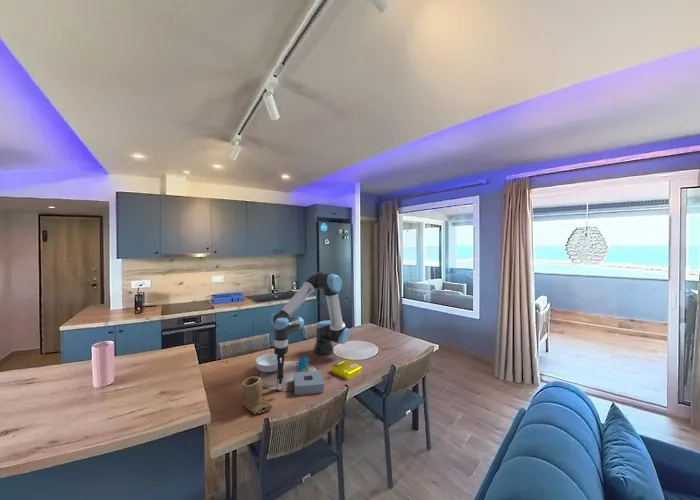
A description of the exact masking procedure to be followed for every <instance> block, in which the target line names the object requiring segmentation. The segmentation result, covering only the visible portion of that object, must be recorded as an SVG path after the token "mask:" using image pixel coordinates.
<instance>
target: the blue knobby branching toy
mask: <svg viewBox="0 0 700 500" xmlns="http://www.w3.org/2000/svg"><path fill="white" fill-rule="evenodd" d="M309 362H310V359H309V357H308V356H301V357H300V358H299V359H298V362H296V365H295V368H296V370H297V371H298V372H302V371H304V370H307V371H311V369H310V368H309V367H308V366H309V364H310V363H309ZM298 369H299V370H298Z"/></svg>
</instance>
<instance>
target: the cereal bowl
mask: <svg viewBox="0 0 700 500" xmlns="http://www.w3.org/2000/svg"><path fill="white" fill-rule="evenodd" d="M277 366H278V361H277V355H276V354H275V353H266V354H263V355H260V356H258V357H257V358H256V359H255V367H256V369H257V370H258V371H260V372H262V373H266V372H270V373H273V372H276V371H277Z"/></svg>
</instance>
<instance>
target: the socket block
mask: <svg viewBox="0 0 700 500" xmlns="http://www.w3.org/2000/svg"><path fill="white" fill-rule="evenodd" d="M323 379H324V378H323V375H322V372H321V370H318V369H317V370H306V371H294V372H293V390H294V396H300V395H313V394H321V393H323V394H324V388H325V383H324V380H323Z"/></svg>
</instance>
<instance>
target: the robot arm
mask: <svg viewBox="0 0 700 500" xmlns="http://www.w3.org/2000/svg"><path fill="white" fill-rule="evenodd" d="M342 286H343V281H342V279H341V277H340V275H337V274H334V273H327V272H316V273H314V274H312V275H310V276H309V277H308V278H307V279H306V280H305V281H303V282H302V286H301V287H300V288H299V289H298V290H297V291H296V293H294V295H293V296H292V297H291V298H290V299H289V300H288V302H286V304H285V305H284V306H283V307H282V308H281V309H280V310H279V311H278V312H273V313H272V314H271V315H270V317H269V323H270V324H271V325H272V326H274V340H273V343H274V347H273V348H274V349H273V352H274V353H273V354H276V355H277V361H278V377H277V376H276V379H277V378H278V389H283V390H284V376H283V365H284V366H285V355H287V354H288V352H289V346H288V345H289V334H291V333H294V332H297V331H300V330H302V329H303V328H304V326H305V320H304V319H303V317H301V316H296V317H292V316H293V314H295V312H296V311H297V310H298V309H299V307H300V306H301V305H302V304H303V303H304V302H305V300H306V299H307V298H308V297H309V296H310V295H311V294H312V293H314V292H315V291H316V290H322V294H323V296H325V298H326V303H327V309H328V314H329V319H330V320H322V321H321V320H320V321H319V322H317V323H316V333H315V334H316V339H315V344H314V347H313V353H314V354H315V355H318V356H330V355H332V354H333V353H334V346H333V345H334V344H333V343H337V344H342V345H344V344H345V343H347V342H348V340H349V337H350V335H351V331H350V329H349V328H348V327H347V326H346V323H345V322H344V321H343V316H342V310H341V304H340V303H341V302H340V299H339V293H340V291H341V290H342Z"/></svg>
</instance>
